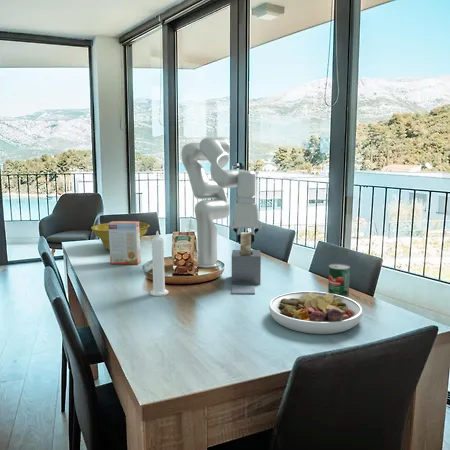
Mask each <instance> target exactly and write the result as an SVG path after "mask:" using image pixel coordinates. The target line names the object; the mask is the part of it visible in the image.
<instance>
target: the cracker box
mask: <svg viewBox="0 0 450 450" xmlns="http://www.w3.org/2000/svg"><path fill="white" fill-rule="evenodd" d="M139 222H140V221H139V220H138V221H134V220H133V221H130V220H128V221H127V220H125V221H124V220H119V221H118V220H117V221H116V220H115V221H110V222H107V223H108V225H109V245H110V250H109V260H110V264H111V265H139V263H141V262H142V258H141V240H140V231H139Z"/></svg>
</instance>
